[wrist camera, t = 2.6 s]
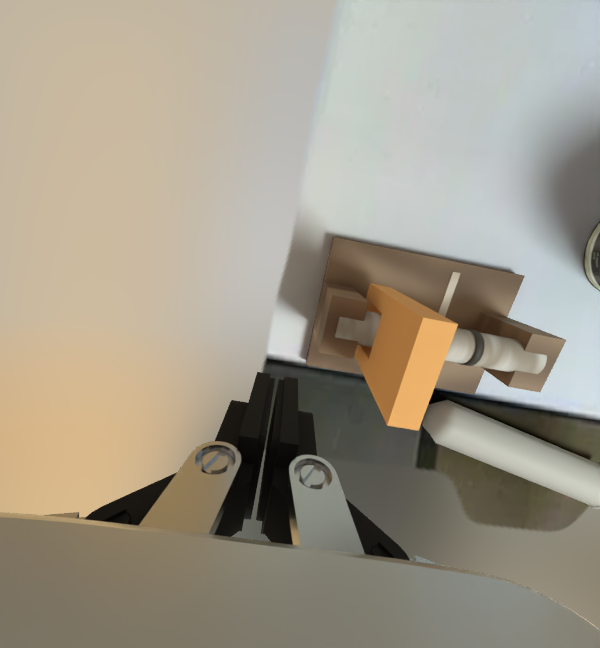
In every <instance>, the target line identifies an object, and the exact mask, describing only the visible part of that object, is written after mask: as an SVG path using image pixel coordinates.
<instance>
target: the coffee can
mask: <svg viewBox="0 0 600 648" xmlns="http://www.w3.org/2000/svg"><path fill="white" fill-rule="evenodd" d="M584 265H585V271H586V274H587V276H588V279H589V280H590V282H591V283H592V284H593V285H594V286H595V287H596V288H597V289H598V290H600V223H599V224H598V225H597V227H596V229H595V230H594V232H593V233H592V235H591V237H590V239H589V242H588V244H587V247H586V251H585V260H584Z"/></svg>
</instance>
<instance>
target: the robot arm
mask: <svg viewBox="0 0 600 648" xmlns="http://www.w3.org/2000/svg"><path fill="white" fill-rule="evenodd" d="M274 382H275V378H270V374H266V373H260V372H257V375H256V379H255V382H254V386H253V389H252V392H251V396H250V400H249V403H246V402H240V401H234V400H232V401H231V402H230V405H229V407H228V410H227V412H226V415H225V417H224V420H223V422H222V425H221V427H220V430H219V432H218V434H217V437H216V440H215V441H212V442H208V443H204V444H202V445H200V446H198V447H197V448H196V449H195V450H194V451H193V452H192V453H191V454H190V456H189V457H188V458H187V460H186V461H185V462H184V464H183V465H182V467H181V468H180V469H179V471H178V472H177V473H175V474H173V475H170V476H168V477H166V478H164V479H162V480H160V481H157V482H155V483H153V484H151V485H148V486H146V487H144V488H142V489H140V490H137V491H135V492H133V493H131V494H129V495H126V496H124V497H122V498H120V499H118V500H115V501H113V502H111V503H109V504H107V505H104V506H102V507H101V508H99V509H97V510H95V511H94V512H92V513H91V514H89V515H88V516H87V517H81V518H79V512H77V513H64V514H51V515H32V514H18V513H0V648H600V630H599V629H598V628H597V627H596V626H595V625H593V624H592V623H591V622H589V621H588V620H586V619H585V618H583V617H582V616H580V615H579V614H577V613H576V612H574V611H573V610H571V609H569V608H568V607H566V606H564V605H563V604H561V603H559V602H557V601H555V600H553V599H551V598H549V597H547V596H545V595H543V594H541V593H539V592H537V591H535V590H533V589H531V588H528V587H525V586H523V585H520V584H517V583H515V582H512V581H510V580H506V579H503V578H499V577H495V576H492V575H488V574H484V573H480V572H475V571H469V570H464V569H458V568H454V567H448V566H442V565H440V564H437V563H434V562H431V561H428V560H426V559H423V558H420V557H418V556H415V558H414V560H412V559H409V558H408V556H407V554H406V553H405V552H404V551H403V550H402V549H401V547H399V545H398V544H396V543H395V542H394V541H393V540H392V539H391V538H390V537H388V536H387V535H386V534H385V533H384V532H383V531H382V530H381V529H380V528H378V527H377V526H376V525H375V524H374V523H373V522H372V521H371V520H369V519H368V518H367V517H366V516H365V515H364V514H363V513H361V512H360V511H359V510H358V509H357V508H356V507H355V506H354V505H352V504H351V503H350V502H349V501H348V500H347V499H346V498H345V496H344V493H343V490H342V488H341V485H340V482H339V479H338V476H337V473H336V472H335V470H334V468H333V467H332V466H331V465H330V463H329V462H327V461H326V460H324V459H323V458H320V457H318V456H317V452H316V442H315V432H314V422H313V414H312V413H308V412H302V411H298V379H296V378H290V377H284V380H281V379H279V382H278V387H277V392H276V397H275V403H274V408H273V413H272V418H271V424H270V429H269V434H268V440H267V447H266V455H265V461H264V468H263V475H262V482H261V489H260V496H259V503H258V510H257V517H256V520H258V521H262V529H261V534H265V535H266V536H267V537H268V539H270V541H271V542H267V541H266V542H265V541H259V540H251V539H242V538H235V537H231V536H233V535H234V534H235V533H237V532H238V531H242V526H243V521H244V519H251V515H252V510H253V505H254V499H255V494H256V488H257V483H258V478H259V473H260V468H261V462H262V457H263V452H264V446H265V441H266V435H267V428H268V421H269V415H270V408H271V401H272V395H273V388H274Z"/></svg>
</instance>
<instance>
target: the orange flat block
mask: <svg viewBox="0 0 600 648" xmlns="http://www.w3.org/2000/svg"><path fill="white" fill-rule="evenodd" d="M366 300H367V301H368V302H369V303H368V307H367V311H370V312H375V313H380V314H382V315H381V318H380V322H379V325H378V329H377V332H376V336H375V339H374V343H373V346H372V347H368V346H363V345H357V348H356V351H355V355H354V356H355V358H356V360H357V362H358V364H359V366H360V368H361V370H362V373H363V375H364V377H365V379H366V381H367V383H368V385H369V388H370V390H371V392H372V394H373V396H374V398H375V400H376V403H377V405H378V407H379V409H380V411H381V413H382V415H383V418H384V420H385V422H386V424H387V425H388V426H394V427H400V428H406V429H412V430H419V428H420V425H421V422H422V420H423V417H424V414H425V412H426V409H427V406H428V404H429V401H430V398H431V396H432V393H433V390H434V388H435V385H436V382H437V380H438V377H439V374H440V372H441V369H442V366H443V364H444V361H445V358H446V356H447V353H448V350H449V348H450V345H451V342H452V340H453V337H454V334H455V332H456V329H457V326H458V324H457V323H455V322H453V321H451V320H450V319H448V318H446V317H444V316H442V315H440V314H439V313H437V312H435V311H433V310H431V309H429V308H428V307H426V306H424V305H422V304H420V303H418V302H417V301H415V300H413V299H411V298H409V297H407V296H406V295H404V294H402V293H400V292H398V291H396V290H395V289H393V288H391V287H387V286H382V285H377V284H372V283H370V285H369V289H368V293H367V296H366Z"/></svg>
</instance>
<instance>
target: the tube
mask: <svg viewBox="0 0 600 648" xmlns="http://www.w3.org/2000/svg"><path fill="white" fill-rule="evenodd" d="M422 426H423V427H424V428H425V429H426V430H427V431H428V432H429V434H430V435H431V437H432V438H433V440H434V441H435V443H438V444H440V445H443V446H445V447H448V448H450V449H453V450H455V451H458V452H460V453H462V454H465V455H467V456H470V457H472V458H475V459H477V460H480V461H482V462H485V463H487V464H490V465H492V466H495V467H497V468H500V469H502V470H505V471H507V472H510V473H512V474H515V475H517V476H519V477H522V478H524V479H527V480H529V481H532V482H534V483H537V484H539V485H542V486H544V487H547V488H549V489H552V490H554V491H557V492H559V493H562V494H564V495H567V496H569V497H572V498H574V499H576V500H579V501H581V502H584V503H586V504H588V505H589V506H590V507H591V508H593V509H600V462H598V463H595V462H593V461H590V460H588V459H586V458H583V457H581V456H579V455H576V454H574V453H571V452H569V451H567V450H564V449H562V448H560V447H557V446H555V445H553V444H550V443H548V442H546V441H543V440H541V439H539V438H536V437H534V436H532V435H529V434H527V433H524V432H522V431H520V430H517V429H515V428H513V427H510V426H508V425H506V424H503V423H501V422H499V421H496V420H494V419H492V418H489V417H487V416H485V415H482V414H480V413H477V412H475V411H473V410H470V409H468V408H466V407H463V406H461V405H459V404H456V403H454V402H452V401H449V400H445V401H441V402H437V403H433V404H429V405H428V407H427V410H426V412H425V415H424V420H423V424H422Z"/></svg>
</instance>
